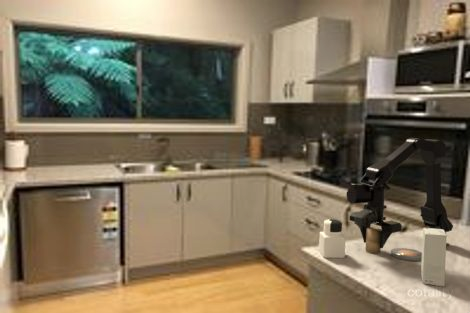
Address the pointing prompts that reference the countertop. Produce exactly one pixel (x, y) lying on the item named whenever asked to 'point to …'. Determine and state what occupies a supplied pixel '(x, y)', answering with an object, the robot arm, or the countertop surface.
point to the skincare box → (433, 256)
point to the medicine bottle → (332, 240)
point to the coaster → (406, 254)
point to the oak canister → (372, 240)
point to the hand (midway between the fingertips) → (373, 245)
